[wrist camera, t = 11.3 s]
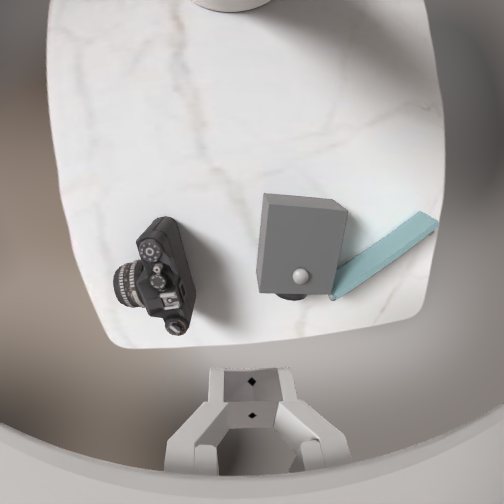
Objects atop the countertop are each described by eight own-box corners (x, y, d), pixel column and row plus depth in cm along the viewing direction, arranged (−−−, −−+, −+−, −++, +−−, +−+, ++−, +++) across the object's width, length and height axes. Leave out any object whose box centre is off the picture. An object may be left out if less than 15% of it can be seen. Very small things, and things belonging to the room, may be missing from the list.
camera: (111, 228, 39) (82, 256, 30) (178, 211, 39) (162, 237, 30) (142, 307, 45) (125, 346, 36) (203, 297, 45) (197, 338, 36)
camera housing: (263, 193, 39) (269, 205, 32) (333, 199, 40) (350, 212, 33) (255, 280, 44) (259, 305, 38) (318, 281, 45) (330, 305, 39)
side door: (420, 210, 41) (437, 220, 36) (423, 219, 41) (440, 229, 37) (320, 280, 44) (329, 297, 40) (325, 288, 45) (334, 305, 40)
